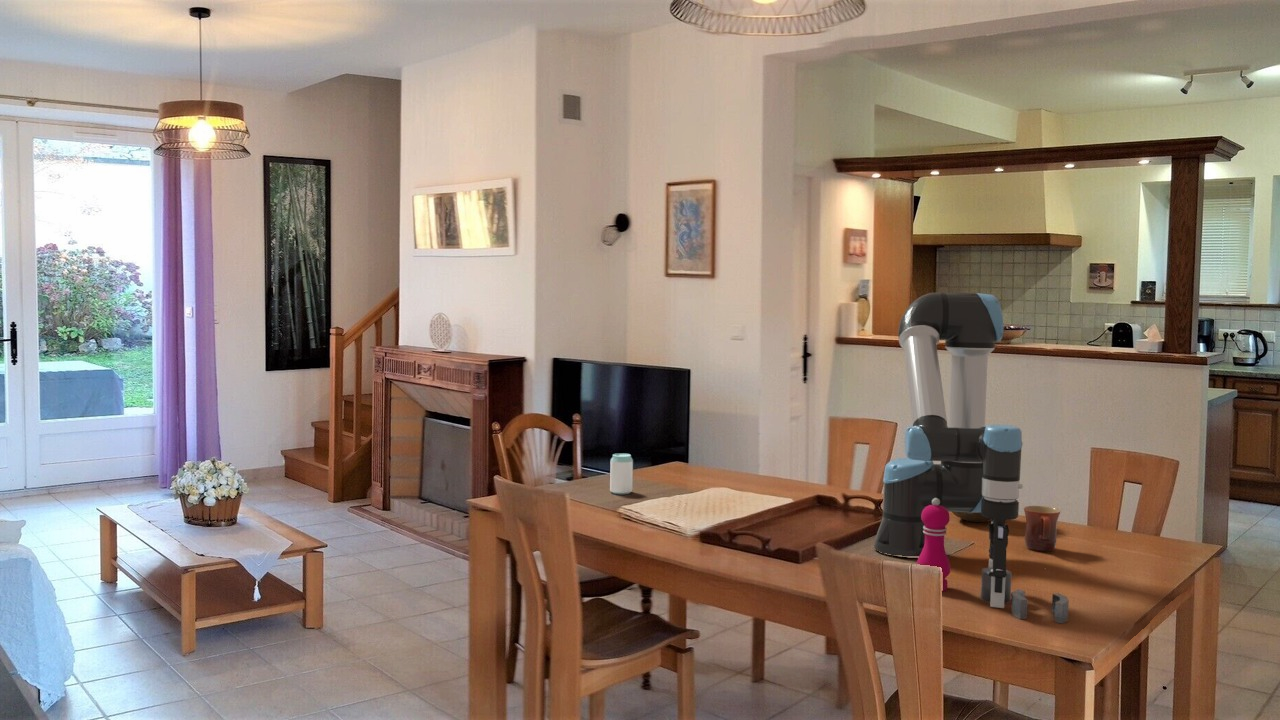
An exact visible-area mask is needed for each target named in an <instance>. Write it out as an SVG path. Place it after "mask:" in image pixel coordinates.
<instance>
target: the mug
mask: <svg viewBox="0 0 1280 720" xmlns="http://www.w3.org/2000/svg"><path fill="white" fill-rule="evenodd" d="M1023 511H1024V514H1025V516H1024V517H1025V533H1024V541H1025V547H1026V548H1028V550H1030V551H1031V550H1032V551H1034V552H1042V553H1048V552H1053V550H1055V548H1056V545H1057V527H1058V525H1057V524H1058V520H1059V517H1060V515H1061V513H1062V512H1061V510H1060V509H1058V508H1055V507H1053V506H1044V505H1027V506H1024V507H1023Z"/></svg>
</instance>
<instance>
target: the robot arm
mask: <svg viewBox="0 0 1280 720" xmlns="http://www.w3.org/2000/svg"><path fill="white" fill-rule="evenodd" d="M1004 326H1005V325H1004V316H1003V311H1002V307H1001V304H1000V301H999V299H998V298H997V296H995V295H993V294H990V293H989V294H988V293H978V292H974V293H973V292H970V293H968V292H963V293H962V292H958V293H957V292H945V293H944V292H930V293H926V294H924V295H921V296H920V297H918V298H917V299H915V300H913V301H912V303H910V305H909V306H908V307H907V308H906V309H905V311H904V312H903V314H902V316H901V319H900V321H899V325H898V330H897V331H898V332H897V336H898V342H899V343H898V344H899V346H900V347H901V348H902V349H903V350H904V351H903V352H904V358H905V367H906V368H905V370H906V377H907V378H906V379H907V386H908V396H909V403H910V411H911V412H910V413H911V421H912V425H911V426H907V428H906V429H905V432H904V452H905V453H904V454H905V455H906V457H901V458H900V457H899V458H896V459H895V458H894V459H893V460H890V461H888V462H887V463H886V465H885V466H884V473H883V479H882V482H883V494H882V495H883V496H882V516H881V517H882V519H881V522H880V525H879V527H878V530H877V533H876V534H875V537H874V541H873V543H874V545H873V547H874V548H875V549H876V550H878V551H880V552H882V553H887V554H891V555H902V556H920V554H921V552H922V550H923V547H924V544H925V534H924V533H923V530H924V528H923V526H925V524H924V523H923V521H922V519H921V514H922V511H923V509H924V508H925V507H926V506H929V505H933V504H932V500H933V499H934V498H938V499H939V500H940V504H939V505H940V506H943V507H944V508H946V509H947V511H948V512H951V513H952V512H967V513H975V512H981V514H982V515H983V516H984V517H987V518H991V523H988V539H989V549H988V553H989V554H988V557H989V559H988V568H993V572H989V576H991V598H990V602H989V604H990V605H989V606H990V607H991V608H1000V609H1004V608H1005V603H1004V599H1005V578H1006V575H1007V573H1006V570H1007V548H1008V544H1009V535H1010V527H1009V524H1006V521H1007V520H1009V521H1013V520H1017V519H1018V518H1019V508H1020V507H1019V506H1020V503H1019V500H1017V499H1019V498H1020V490H1021V489H1023V487H1024V486H1023V484H1022V483H1020V482H1021V481H1020V480H1021V466H1022V465H1021V464H1022V462H1021V461H1022V447H1023V445H1024V444H1023V441H1022V439H1023V438H1022V437H1023V436H1022V435H1023V434H1022V432H1023V431H1022V429H1021V428H1020V427H1019V426H1014V425H1009V424H989V425H987V426H986V410H987V406H986V405H987V381H988V359H989V355H990V354H991V353H992V352H993V351H994V350H995V348H996V347H995V346H996V345H995V344H996V343H998V342H1001V340H1002V339H1003V336H1004V334H1003V333H1004ZM940 341H945V342H944V344H945V345H944V349H946V350H947V351H948V352H949V354H950V356H951V358H950V377H949V379H950V383H949V406H948V407H949V408H948V410H949V411H948V418H947V413H946V412H947V411H946V405H945V397H944V391H943V390H944V388H943V383H942V382H943V381H942V375H941V367H940V361H939V355H938V353H939V352H938V347H937V345H938V344H939V342H940ZM947 419H948V420H947ZM934 462H940V463H939V464H937V463H936V464H935V463H934ZM874 548H873V549H874ZM875 549H874V550H875ZM876 550H875V551H876ZM996 569H1000V570H996ZM1001 570H1002V571H1001Z"/></svg>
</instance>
